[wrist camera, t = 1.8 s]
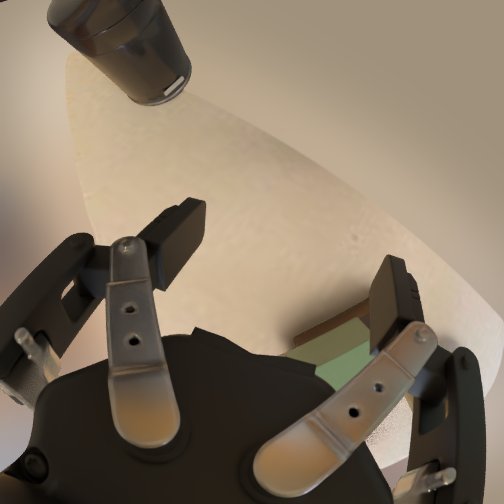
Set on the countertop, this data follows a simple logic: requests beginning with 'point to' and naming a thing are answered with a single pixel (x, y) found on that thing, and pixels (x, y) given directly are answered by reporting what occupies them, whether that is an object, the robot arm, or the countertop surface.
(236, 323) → the countertop surface
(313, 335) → the riser
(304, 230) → the countertop surface
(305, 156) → the countertop surface
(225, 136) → the countertop surface
